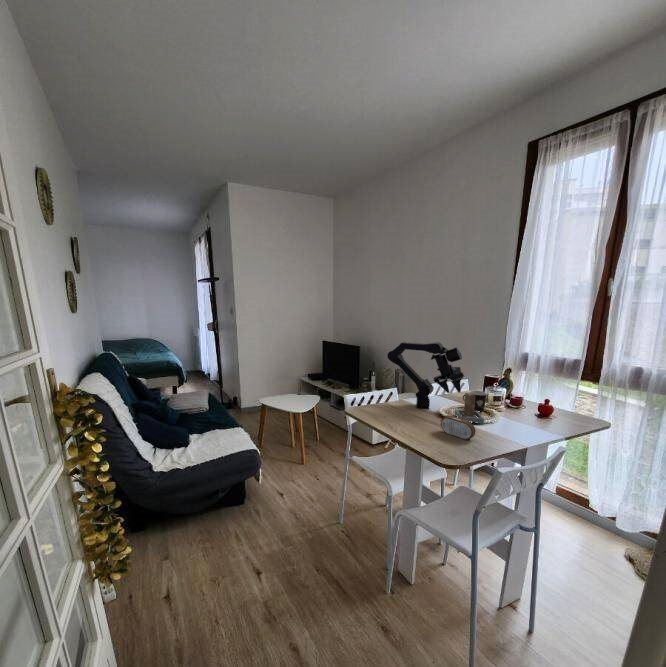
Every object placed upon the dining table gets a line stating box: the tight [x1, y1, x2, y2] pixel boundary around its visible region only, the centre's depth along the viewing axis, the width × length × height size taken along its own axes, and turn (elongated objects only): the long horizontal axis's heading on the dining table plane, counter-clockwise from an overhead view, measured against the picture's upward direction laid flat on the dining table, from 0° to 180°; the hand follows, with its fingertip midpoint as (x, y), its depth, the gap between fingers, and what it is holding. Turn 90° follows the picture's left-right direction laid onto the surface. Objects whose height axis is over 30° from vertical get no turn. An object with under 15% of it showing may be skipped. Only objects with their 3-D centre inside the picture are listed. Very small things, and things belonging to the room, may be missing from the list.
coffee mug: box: [462, 390, 488, 413], centre depth 176 cm, size 12×9×10 cm
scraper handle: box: [462, 392, 476, 417], centre depth 162 cm, size 5×5×13 cm
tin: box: [440, 414, 476, 441], centre depth 142 cm, size 15×3×8 cm, turn 44°
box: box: [454, 409, 485, 425], centre depth 162 cm, size 11×11×3 cm
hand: (454, 392), depth 170 cm, fingers open, 9 cm apart
